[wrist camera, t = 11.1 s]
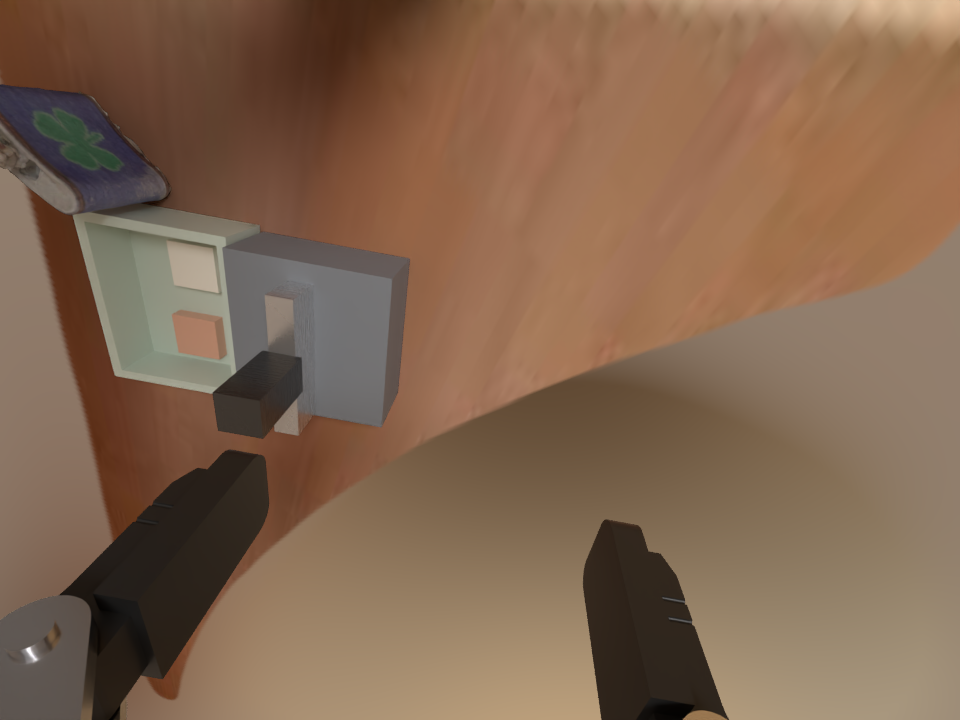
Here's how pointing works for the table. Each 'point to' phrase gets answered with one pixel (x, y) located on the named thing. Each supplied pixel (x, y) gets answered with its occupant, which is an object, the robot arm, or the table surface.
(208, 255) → the tile cream
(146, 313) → the box
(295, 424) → the scraper
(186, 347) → the tile terracotta
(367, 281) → the grey slotted block
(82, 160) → the flask
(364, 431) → the table surface
